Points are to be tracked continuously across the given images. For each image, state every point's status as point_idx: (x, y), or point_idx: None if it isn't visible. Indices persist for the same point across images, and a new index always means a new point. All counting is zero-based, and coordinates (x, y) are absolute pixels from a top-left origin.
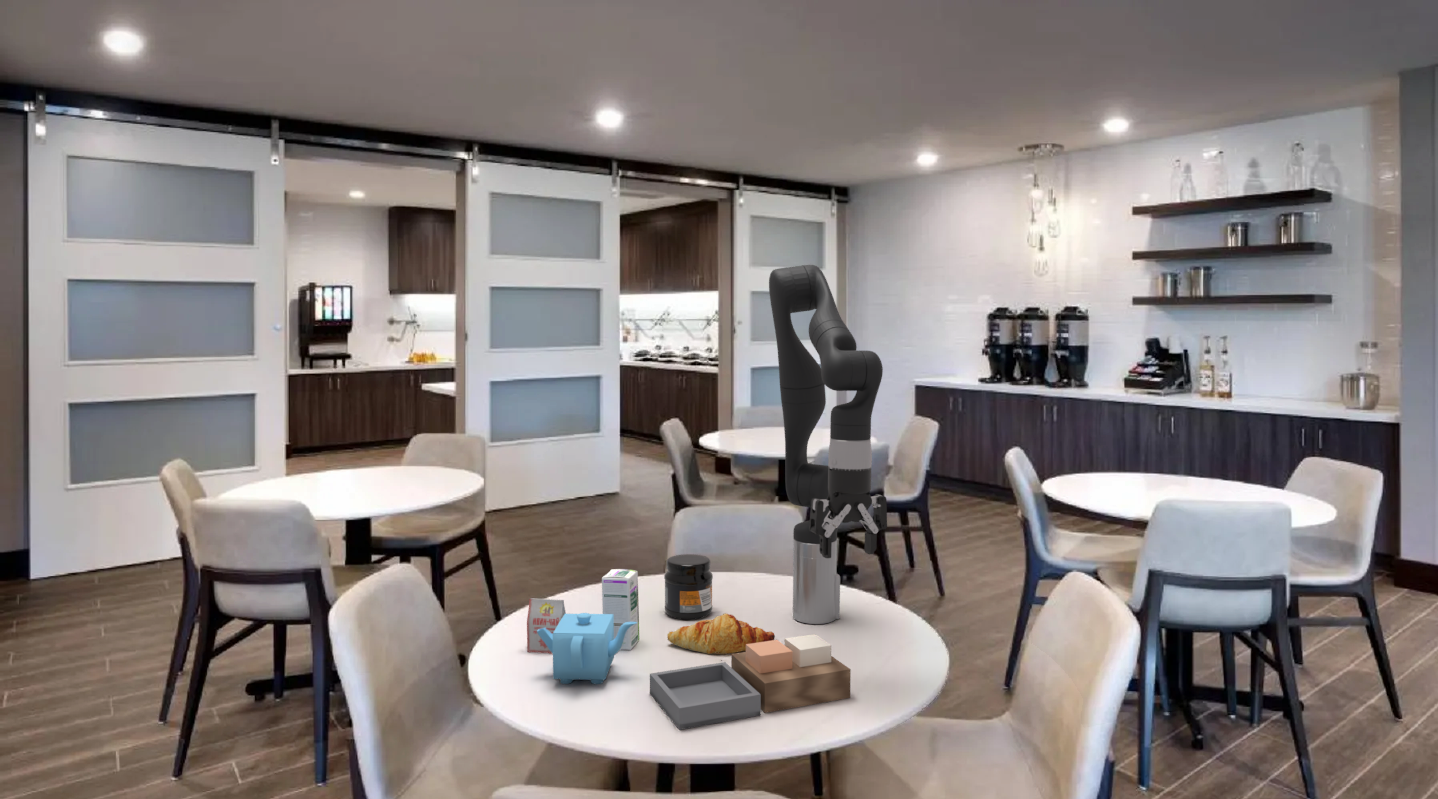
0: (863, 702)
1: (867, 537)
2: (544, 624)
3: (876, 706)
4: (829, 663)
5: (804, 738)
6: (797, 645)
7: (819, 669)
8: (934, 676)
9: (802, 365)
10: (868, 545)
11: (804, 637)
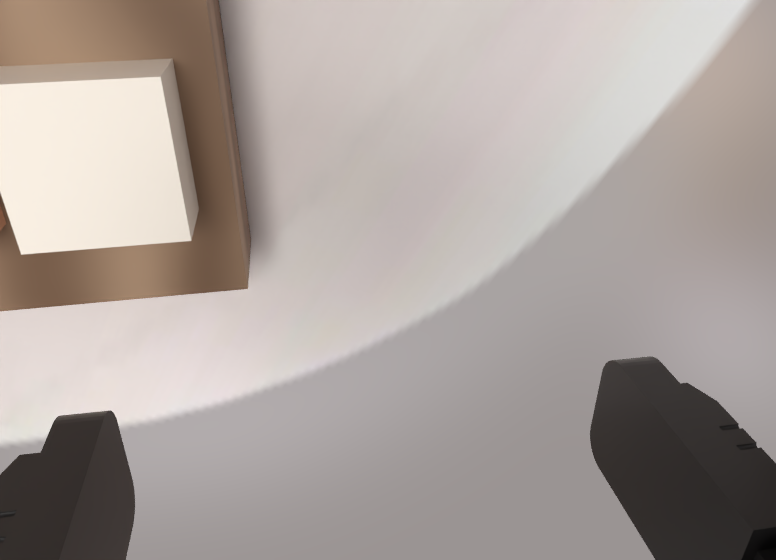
0: (278, 277)
1: (693, 529)
2: None
3: (303, 310)
4: None
5: (20, 424)
6: (19, 198)
7: (123, 261)
8: (604, 169)
9: None
10: (636, 478)
11: (86, 106)
